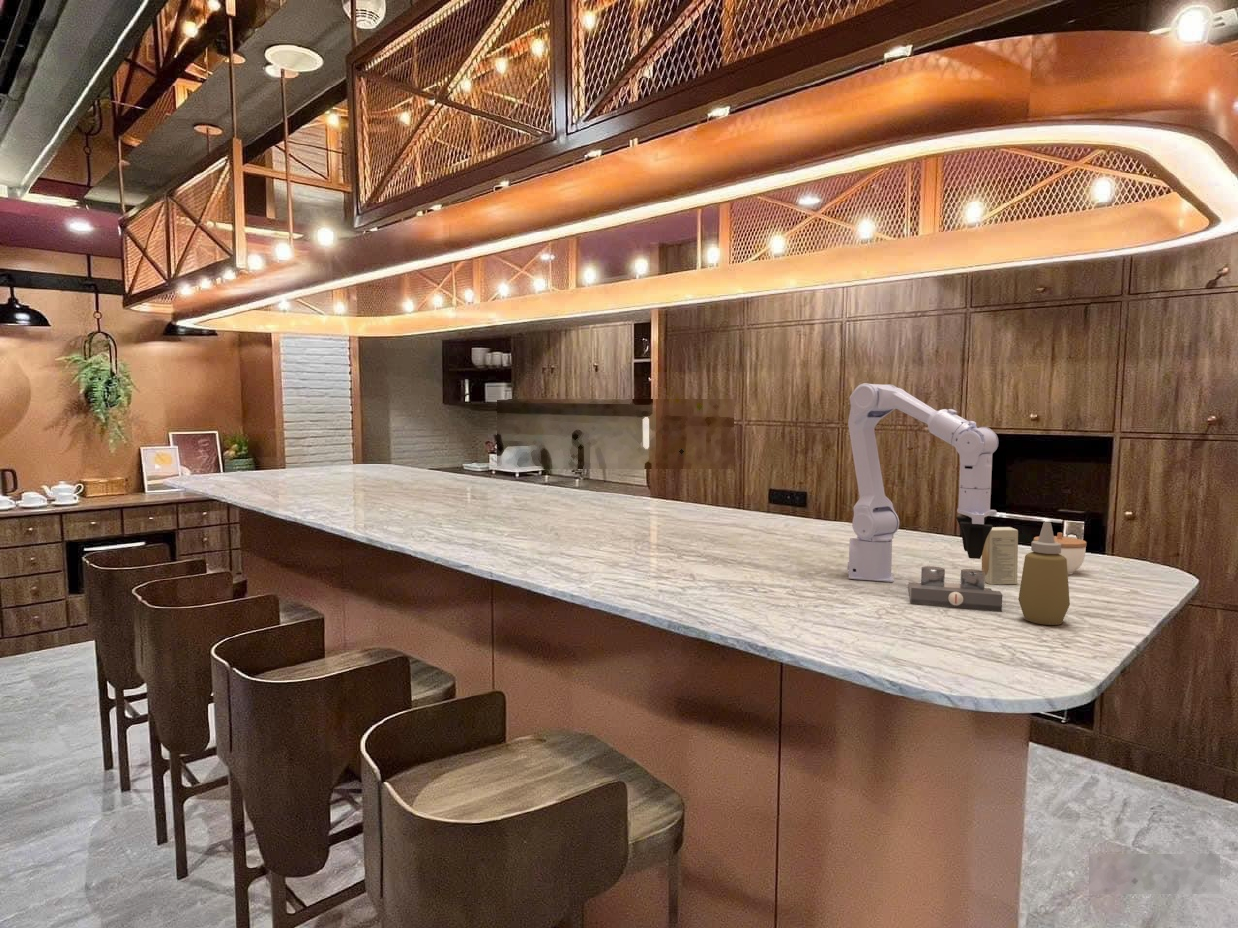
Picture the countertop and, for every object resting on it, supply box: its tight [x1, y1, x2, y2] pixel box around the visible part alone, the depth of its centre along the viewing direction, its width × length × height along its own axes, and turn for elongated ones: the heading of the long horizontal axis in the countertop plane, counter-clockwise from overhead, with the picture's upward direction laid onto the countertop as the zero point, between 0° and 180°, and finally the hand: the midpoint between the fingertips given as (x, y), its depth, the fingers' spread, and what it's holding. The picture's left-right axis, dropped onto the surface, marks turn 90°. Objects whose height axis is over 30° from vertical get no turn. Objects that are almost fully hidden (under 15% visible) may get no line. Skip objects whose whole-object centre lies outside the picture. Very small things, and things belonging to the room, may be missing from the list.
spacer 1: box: [920, 565, 946, 587], centre depth 148 cm, size 4×4×4 cm
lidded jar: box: [1033, 532, 1088, 576], centre depth 170 cm, size 11×11×9 cm
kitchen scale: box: [907, 581, 1003, 613], centre depth 146 cm, size 16×15×3 cm
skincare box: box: [981, 526, 1019, 585], centre depth 160 cm, size 6×4×12 cm
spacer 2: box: [959, 568, 986, 590], centre depth 146 cm, size 4×4×4 cm
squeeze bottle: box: [1018, 521, 1071, 626], centre depth 129 cm, size 8×8×18 cm
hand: (972, 554), depth 145 cm, fingers open, 7 cm apart
